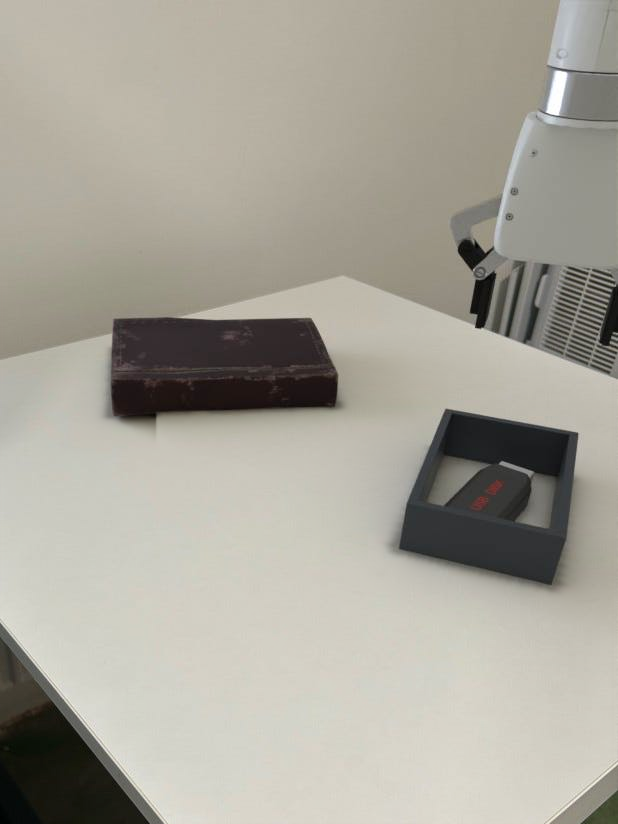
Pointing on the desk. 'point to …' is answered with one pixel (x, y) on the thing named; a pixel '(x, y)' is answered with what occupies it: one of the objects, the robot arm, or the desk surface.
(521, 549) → the tub
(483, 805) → the desk surface
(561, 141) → the robot arm
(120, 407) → the diary
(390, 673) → the desk surface
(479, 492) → the usb drive
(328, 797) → the desk surface
